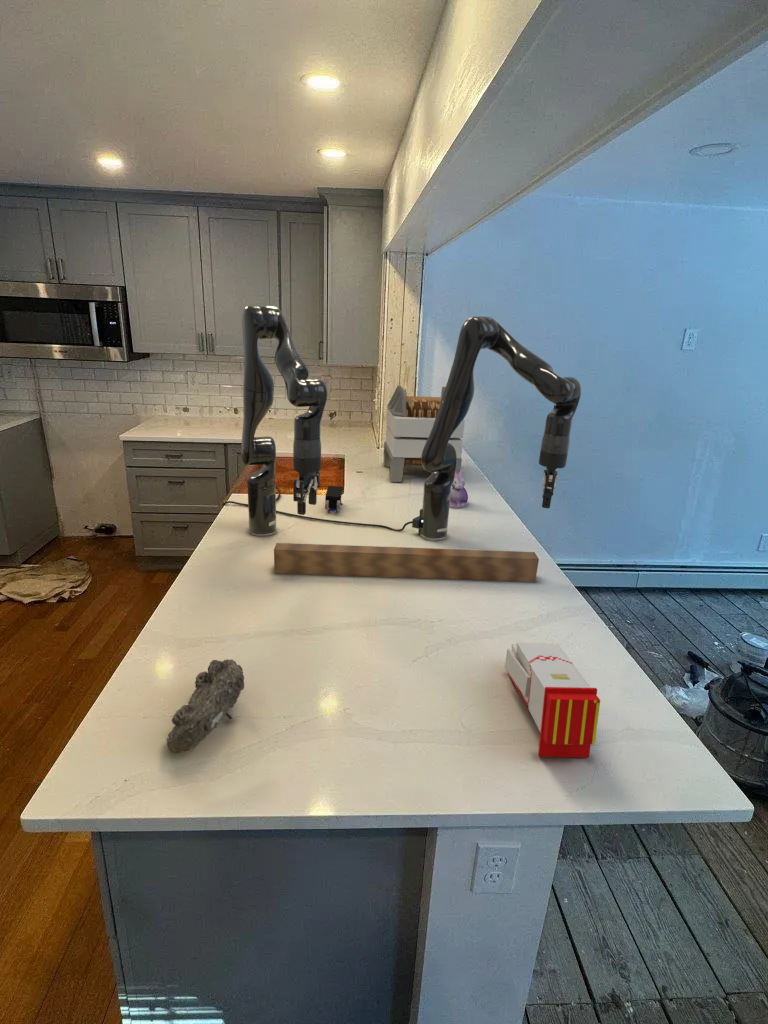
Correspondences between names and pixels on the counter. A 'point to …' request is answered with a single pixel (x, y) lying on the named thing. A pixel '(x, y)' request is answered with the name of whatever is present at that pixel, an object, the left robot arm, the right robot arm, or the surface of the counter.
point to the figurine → (458, 491)
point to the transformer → (412, 431)
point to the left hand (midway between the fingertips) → (307, 509)
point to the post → (405, 562)
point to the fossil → (206, 705)
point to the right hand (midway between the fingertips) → (545, 503)
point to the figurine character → (333, 498)
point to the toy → (555, 698)
